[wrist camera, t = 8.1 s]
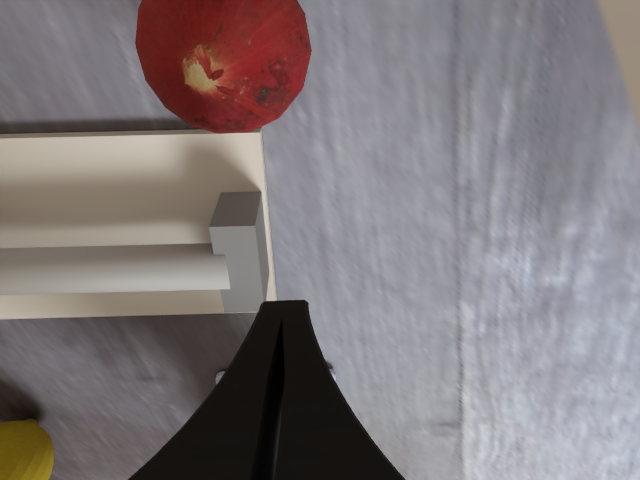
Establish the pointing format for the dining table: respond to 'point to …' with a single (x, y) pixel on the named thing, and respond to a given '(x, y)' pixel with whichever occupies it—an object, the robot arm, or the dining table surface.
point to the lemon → (25, 451)
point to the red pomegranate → (224, 59)
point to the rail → (133, 224)
